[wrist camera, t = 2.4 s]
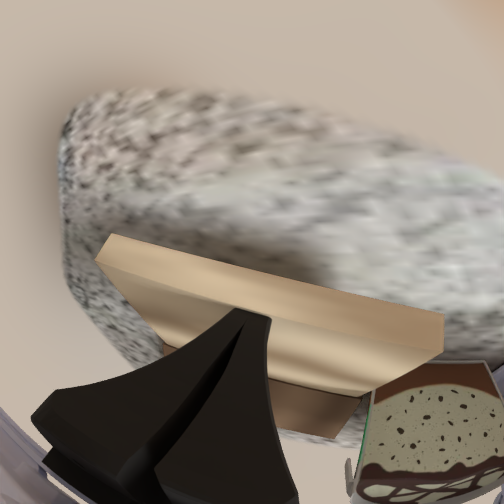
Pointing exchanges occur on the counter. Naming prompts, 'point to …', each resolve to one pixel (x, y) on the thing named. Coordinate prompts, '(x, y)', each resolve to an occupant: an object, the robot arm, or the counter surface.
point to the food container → (431, 437)
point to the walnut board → (305, 407)
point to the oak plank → (276, 316)
